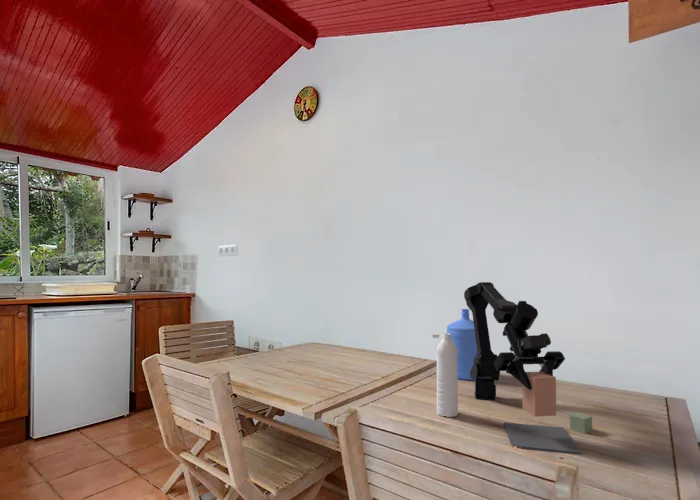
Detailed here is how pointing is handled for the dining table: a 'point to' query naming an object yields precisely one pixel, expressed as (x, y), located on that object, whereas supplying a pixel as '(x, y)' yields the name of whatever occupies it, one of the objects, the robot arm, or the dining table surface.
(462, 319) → the water jug
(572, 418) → the olive block
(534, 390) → the pink upright block
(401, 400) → the dining table surface
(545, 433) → the charcoal mat
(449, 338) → the water bottle
